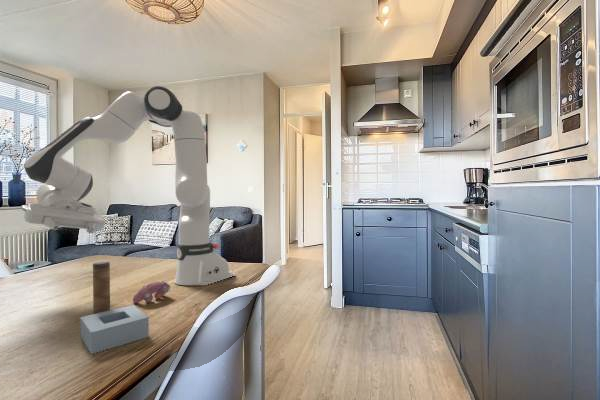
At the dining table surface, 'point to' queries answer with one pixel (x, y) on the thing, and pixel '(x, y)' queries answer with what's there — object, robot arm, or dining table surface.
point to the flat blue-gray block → (113, 328)
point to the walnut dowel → (101, 287)
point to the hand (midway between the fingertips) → (74, 229)
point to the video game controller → (151, 291)
